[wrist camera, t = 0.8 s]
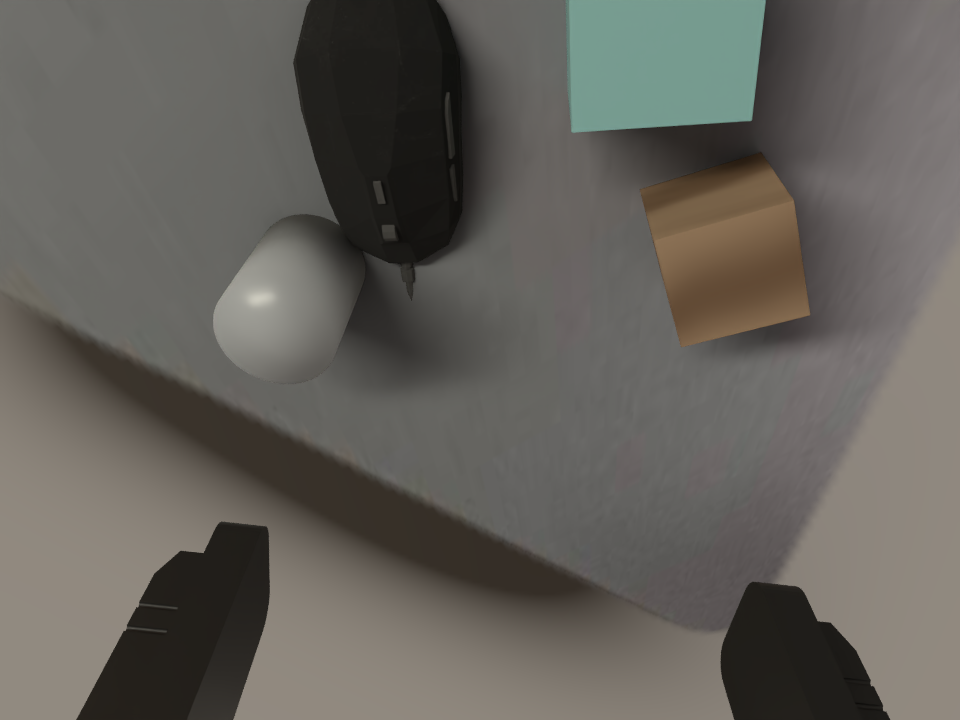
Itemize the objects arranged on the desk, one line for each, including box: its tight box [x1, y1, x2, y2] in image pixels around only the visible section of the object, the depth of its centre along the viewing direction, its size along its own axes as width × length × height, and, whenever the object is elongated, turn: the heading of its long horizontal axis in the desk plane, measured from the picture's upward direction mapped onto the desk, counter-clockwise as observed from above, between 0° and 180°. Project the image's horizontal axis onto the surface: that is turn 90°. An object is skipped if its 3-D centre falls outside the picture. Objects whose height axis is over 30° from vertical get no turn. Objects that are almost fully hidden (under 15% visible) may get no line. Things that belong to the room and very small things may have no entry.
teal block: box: [566, 0, 766, 132], centre depth 26 cm, size 6×6×5 cm
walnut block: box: [640, 153, 810, 347], centre depth 31 cm, size 5×5×5 cm
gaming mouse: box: [293, 0, 463, 301], centre depth 31 cm, size 6×15×4 cm, turn 4°
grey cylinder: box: [213, 214, 366, 384], centre depth 33 cm, size 5×5×6 cm
